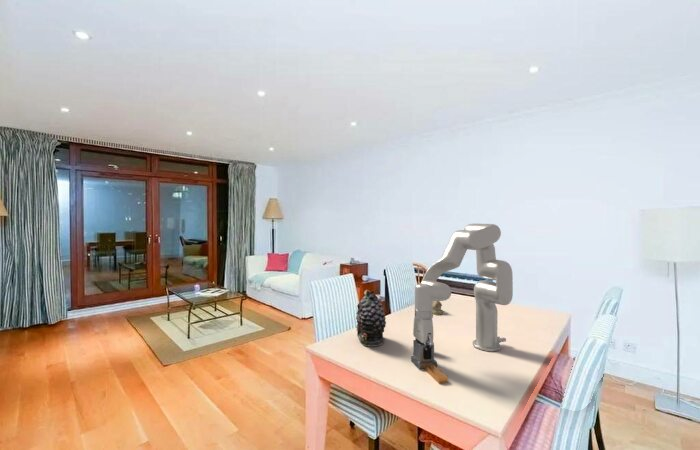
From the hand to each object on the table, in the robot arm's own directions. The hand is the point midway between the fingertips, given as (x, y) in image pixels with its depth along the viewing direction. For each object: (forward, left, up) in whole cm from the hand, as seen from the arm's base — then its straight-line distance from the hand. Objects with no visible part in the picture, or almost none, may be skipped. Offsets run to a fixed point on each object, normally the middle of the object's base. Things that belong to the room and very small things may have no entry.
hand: (423, 355), depth 136 cm
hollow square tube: (0, 0, -1) cm, 1 cm away
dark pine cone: (+14, -31, -4) cm, 34 cm away
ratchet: (0, +6, -4) cm, 7 cm away
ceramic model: (-42, -68, -4) cm, 80 cm away
